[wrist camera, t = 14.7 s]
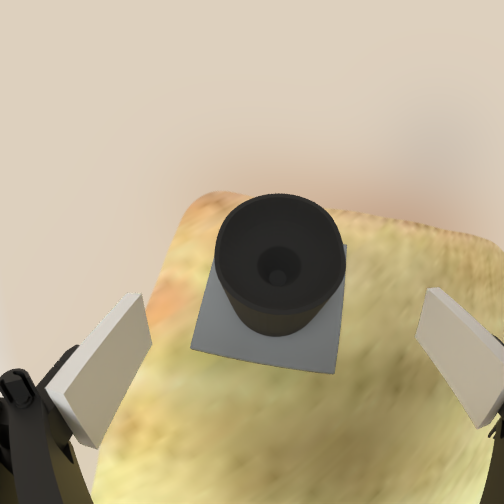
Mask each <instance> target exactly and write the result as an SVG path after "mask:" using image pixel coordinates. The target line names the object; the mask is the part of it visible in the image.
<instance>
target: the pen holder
mask: <svg viewBox="0 0 504 504" xmlns="http://www.w3.org/2000/svg"><path fill="white" fill-rule="evenodd" d="M214 263H215V270H216V273H217V276H218V279H219V281H220V283H221V285H222V287H223V289H224V291H225V293H226V295H227V297H228V299H229V301H230V303H231V305H232V307H233V309H234V311H235V312H236V314H237V316H238V317H239V318H240V320H241V321H242V322H243V323H244V324H245V325H246V326H247V327H248V328H250V329H251V330H253V331H255V332H257V333H259V334H262V335H265V336H271V337H281V336H287V335H291V334H293V333H295V332H297V331H299V330H301V329H302V328H304V327H305V326H306V325H307V324H308V323H309V322H310V321H311V320H312V319H313V318H314V317H315V316H316V315H317V314H318V312H319V311H320V310H321V309H322V308H323V306H324V305H325V304H326V303H327V302H328V300H329V299H330V298H331V297H332V295H333V294H334V293H335V292H336V290H337V289H338V287H339V286H340V284H341V282H342V280H343V278H344V275H345V271H346V258H345V252H344V247H343V243H342V239H341V236H340V233H339V230H338V228H337V226H336V224H335V222H334V220H333V218H332V217H331V216H330V215H329V214H328V212H327V211H325V210H324V209H323V208H322V207H321V206H319V205H318V204H316V203H315V202H312V201H310V200H308V199H306V198H302V197H300V196H295V195H290V194H267V195H262V196H258V197H255V198H252V199H250V200H248V201H245V202H244V203H242V204H240V205H239V206H237V207H236V208H235V209H234V210H232V211H231V213H230V214H229V215H228V216H227V217H226V219H225V220H224V222H223V223H222V225H221V228H220V230H219V233H218V236H217V240H216V246H215V255H214Z"/></svg>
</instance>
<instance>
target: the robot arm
mask: <svg viewBox="0 0 504 504" xmlns="http://www.w3.org/2000/svg"><path fill="white" fill-rule="evenodd" d="M415 338H416V340H417V341H418V342H419V344H420V345H421V346H422V348H423V349H424V350H425V352H426V353H427V355H428V356H429V357H430V359H431V360H432V362H433V363H434V364H435V366H436V367H437V369H438V370H439V372H440V373H441V374H442V376H443V377H444V379H445V380H446V382H447V383H448V385H449V386H450V388H451V389H452V391H453V392H454V394H455V395H456V397H457V398H458V400H459V401H460V403H461V405H462V406H463V408H464V409H465V411H466V412H467V414H468V416H469V417H470V419H471V420H472V422H473V424H474V425H475V427H476V429H479V428H482V427H484V426H486V425H488V424H490V423H491V421H492V420H493V419H494V417H495V416H496V414H497V413H499V414H500V416H501V417H500V419H499V420H498V422H497V423H496V425H495V426H494V427H493V429H492V430H491V431H490V433H489V435H488V437H489V438H490V437H491V435H492V434H493V433H494V432H495V431H496V434H495V436H494V437H493V439H495V441H494V447H493V453H492V458H491V463H490V467H489V472H488V476H487V480H486V484H485V487H484V491H483V494H482V498H481V501H480V504H504V344H503V343H502V342H501V341H500V340H499V339H498V338H497V337H496V336H494V335H492V334H490V333H489V332H488V331H487V330H486V329H485V328H484V327H483V326H482V325H481V324H480V323H479V322H478V321H477V320H476V319H475V318H473V317H472V316H471V315H470V314H469V313H468V312H467V311H466V310H465V309H464V308H462V307H461V306H460V305H459V304H458V303H457V302H456V301H455V300H453V299H452V298H451V297H450V296H449V295H448V294H446V293H445V292H444V291H443V290H442V289H441V288H439V287H436V288H427V291H426V295H425V300H424V304H423V308H422V312H421V316H420V320H419V324H418V327H417V331H416V334H415ZM151 345H152V340H151V336H150V331H149V327H148V322H147V318H146V313H145V308H144V303H143V298H142V294H141V293H126V294H125V295H124V296H123V297H122V299H121V300H120V301H119V302H118V303H117V304H116V305H115V306H114V307H113V308H112V309H111V311H110V312H109V313H108V314H107V315H106V316H105V317H104V318H103V319H102V321H101V322H100V323H99V324H98V325H97V326H96V327H95V329H94V330H93V331H92V332H91V333H90V334H89V335H88V337H87V338H86V339H85V340H84V341H83V342H82V343H81V345H75V346H73V347H72V348H70V349H69V350H67V351H66V352H65V353H64V354H63V356H62V357H61V358H60V360H59V361H57V362H56V364H55V365H54V367H52V368H51V370H50V371H49V372H48V373H47V374H46V376H45V377H44V378H43V379H42V380H41V381H40V383H39V384H38V385H37V386H36V387H35V385H34V383H33V381H32V380H31V378H30V376H29V374H28V372H27V371H25V370H23V369H12V370H10V371H7V372H6V373H4V374H3V375H2V376H1V377H0V392H1V393H2V395H3V396H4V398H0V504H94V503H93V501H92V499H91V496H90V494H89V492H88V489H87V486H86V484H85V481H84V479H83V476H82V473H81V470H80V467H79V464H78V461H77V458H76V455H75V452H74V449H73V446H72V444H71V442H70V441H69V440H70V438H71V436H72V434H73V435H74V436H75V437H76V439H77V440H78V442H79V443H80V444H82V445H85V446H88V447H91V448H95V449H98V448H99V446H100V444H101V442H102V440H103V437H104V435H105V433H106V431H107V429H108V427H109V425H110V423H111V421H112V419H113V417H114V415H115V413H116V411H117V409H118V407H119V406H120V404H121V402H122V400H123V398H124V396H125V394H126V392H127V390H128V388H129V386H130V384H131V382H132V381H133V379H134V377H135V375H136V373H137V371H138V369H139V367H140V366H141V364H142V362H143V360H144V358H145V356H146V354H147V353H148V351H149V349H150V347H151Z"/></svg>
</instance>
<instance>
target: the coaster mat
mask: <svg viewBox="0 0 504 504" xmlns="http://www.w3.org/2000/svg"><path fill="white" fill-rule="evenodd" d="M343 247H344V252H345V258H346V251H347V245H345V244H343ZM344 284H345V275H344V278H343V280H342V282H341V284H340V286H339V287H338V289H337V290H336V292H335V293H334V294H333V295H332V297H331V298H330V299H329V300H328V302H327V303H326V304H325V305H324V306H323V308H322V309H321V310H320V311H319V312H318V314H317V315H316V316H315V317H314V318H313V319H312V320H311V321H310V322H309V323H308V324H307V325H306V326H305V327H304V328H302V329H301V330H299V331H297V332H295V333H293V334H291V335H287V336H281V337H271V336H265V335H262V334H259V333H257V332H255V331H253V330H251V329H250V328H248V327H247V326H246V325H245V324H244V323H243V322H242V321H241V320H240V318H239V317H238V316H237V314H236V312H235V311H234V309H233V307H232V305H231V303H230V301H229V299H228V297H227V295H226V293H225V291H224V289H223V287H222V285H221V283H220V281H219V279H218V276H217V273H216V270H215V263H214V260H213V263H212V267H211V270H210V274H209V278H208V281H207V285H206V289H205V292H204V296H203V300H202V304H201V307H200V311H199V315H198V319H197V323H196V326H195V330H194V334H193V338H192V342H191V346H190V348H191V349H193V350H197V351H201V352H206V353H210V354H214V355H219V356H223V357H228V358H233V359H238V360H243V361H248V362H253V363H258V364H264V365H270V366H276V367H282V368H288V369H295V370H302V371H309V372H317V373H326V374H334V373H335V366H336V359H337V352H338V344H339V336H340V327H341V318H342V308H343V297H344Z"/></svg>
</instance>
